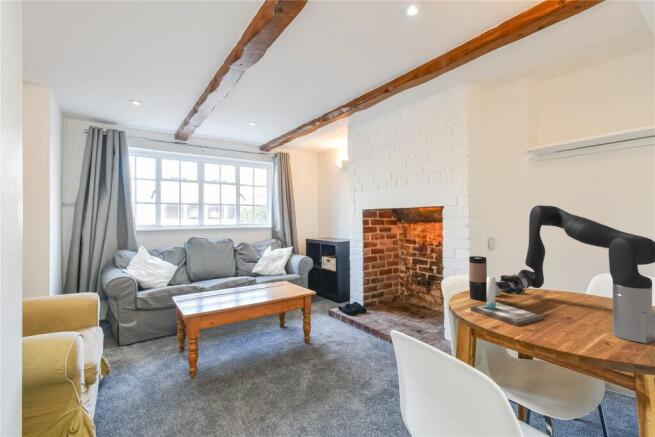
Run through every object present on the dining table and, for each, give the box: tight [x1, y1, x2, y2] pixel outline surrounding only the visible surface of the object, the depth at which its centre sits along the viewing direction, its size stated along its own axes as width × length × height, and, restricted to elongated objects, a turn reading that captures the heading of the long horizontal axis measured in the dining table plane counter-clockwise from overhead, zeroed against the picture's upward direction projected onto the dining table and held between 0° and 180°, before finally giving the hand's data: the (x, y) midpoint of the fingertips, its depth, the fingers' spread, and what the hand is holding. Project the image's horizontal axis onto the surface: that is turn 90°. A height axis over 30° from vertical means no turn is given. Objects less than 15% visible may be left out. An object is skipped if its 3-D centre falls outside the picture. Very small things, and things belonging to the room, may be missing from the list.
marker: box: [486, 276, 497, 310], centre depth 126 cm, size 3×3×13 cm
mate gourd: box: [499, 273, 516, 293], centre depth 159 cm, size 7×8×10 cm
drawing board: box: [470, 301, 544, 327], centre depth 124 cm, size 20×16×2 cm
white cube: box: [486, 286, 502, 297], centre depth 154 cm, size 6×6×6 cm
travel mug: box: [468, 255, 488, 301], centre depth 147 cm, size 8×8×20 cm
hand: (496, 289), depth 129 cm, fingers open, 8 cm apart
